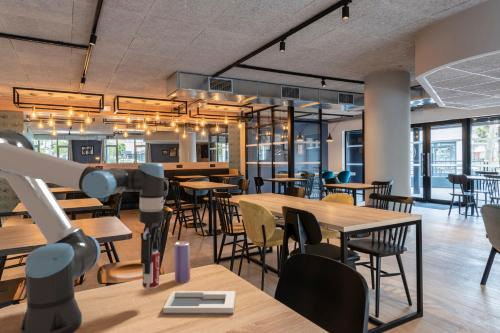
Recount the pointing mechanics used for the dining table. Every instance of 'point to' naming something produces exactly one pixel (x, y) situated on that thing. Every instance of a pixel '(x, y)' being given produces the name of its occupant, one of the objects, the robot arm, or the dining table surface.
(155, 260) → the soda can
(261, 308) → the dining table surface
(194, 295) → the keyhole board
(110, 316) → the dining table surface
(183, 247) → the beverage can
